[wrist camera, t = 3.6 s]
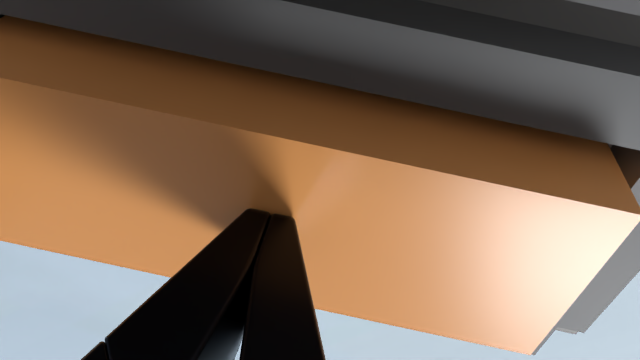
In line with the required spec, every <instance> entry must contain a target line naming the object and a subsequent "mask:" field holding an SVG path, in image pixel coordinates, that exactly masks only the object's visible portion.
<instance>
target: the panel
mask: <svg viewBox="0 0 640 360" xmlns="http://www.w3.org/2000/svg"><path fill="white" fill-rule="evenodd" d="M5 15H7V16H12V17H17V18H21V19H26V20H31V21H35V22H40V23H45V24H49V25H54V26H59V27H64V28H68V29H73V30H78V31H82V32H87V33H92V34H96V35H101V36H106V37H110V38H115V39H120V40H124V41H129V42H134V43H139V44H143V45H148V46H153V47H157V48H162V49H167V50H171V51H176V52H181V53H185V54H190V55H195V56H200V57H204V58H209V59H214V60H218V61H223V62H228V63H232V64H237V65H242V66H246V67H251V68H256V69H260V70H265V71H270V72H275V73H279V74H284V75H289V76H293V77H298V78H303V79H307V80H312V81H317V82H321V83H326V84H331V85H335V86H340V87H345V88H350V89H354V90H359V91H364V92H368V93H373V94H378V95H382V96H387V97H392V98H396V99H401V100H406V101H411V102H415V103H420V104H425V105H429V106H434V107H439V108H443V109H448V110H453V111H457V112H462V113H467V114H471V115H476V116H481V117H486V118H490V119H495V120H500V121H504V122H509V123H514V124H518V125H523V126H528V127H532V128H537V129H542V130H546V131H551V132H556V133H561V134H565V135H570V136H575V137H579V138H584V139H589V140H593V141H598V142H603V143H607V144H608V145H609V147H610V149H611V151H612V153H613V155H614V157H615V159H616V161H617V163H618V165H619V167H620V169H621V171H622V173H623V175H624V177H625V179H626V181H627V183H628V185H629V187H630V189H631V191H632V193H633V195H634V197H635V199H636V201H637V203H638V205H639V207H640V16H638V15H634V14H629V13H624V12H620V11H615V10H610V9H605V8H601V7H596V6H591V5H586V4H582V3H577V2H572V1H567V0H0V18H2V17H3V16H5ZM639 271H640V221H639V223H638V224H637V225H636V226H635V227H634V229H633V230H632V231H631V232H630V234H629V235H628V236H627V237H626V239H625V240H624V241H623V242H622V243H621V245H620V246H619V247H618V248H617V250H616V251H615V252H614V253H613V255H612V256H611V257H610V258H609V259H608V261H607V262H606V263H605V264H604V266H603V267H602V268H601V269H600V270H599V272H598V273H597V274H596V275H595V277H594V278H593V279H592V280H591V282H590V283H589V284H588V285H587V286H586V288H585V289H584V290H583V291H582V293H581V294H580V295H579V296H578V298H577V299H576V300H575V301H574V302H573V304H572V305H571V306H570V307H569V309H568V310H567V311H566V312H565V313H564V315H563V316H562V317H561V318H560V320H559V321H558V322H557V323H556V325H555V326H554V327H553V328H552V329H551V331H550V332H549V333H548V334H547V336H546V337H545V338H544V339H543V341H542V342H541V343H540V344H539V345H538V347H537V348H536V349H535V350H534V352H533V353H532V354H531V355H535V354H536V353H537V352H538V350H539V349H540V348H541V347H542V345H543V344H544V343H545V342H546V341H547V339H548V338H549V337H550V336H551V335H552V333H553V332H554V331H555V330H558V331H563V332H567V333H572V334H576V333H577V332H582V333H584V332H585V331H586V330H587V329H588V328H589V327H590V326H591V324H592V323H593V322H594V321H595V320H596V319H597V318H598V317H599V315H600V314H601V313H602V312H603V311H604V310H605V309H606V308H607V307H608V305H609V304H610V303H611V302H612V301H613V300H614V299H615V298H616V296H617V295H618V294H619V293H620V292H621V291H622V290H623V289H624V288H625V286H626V285H627V284H628V283H629V282H630V281H631V280H632V279H633V278H634V276H635V275H636V274H637V273H638V272H639Z"/></svg>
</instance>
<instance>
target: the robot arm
mask: <svg viewBox="0 0 640 360" xmlns="http://www.w3.org/2000/svg"><path fill="white" fill-rule="evenodd" d="M242 338H243V339H242ZM241 341H242V346H241V353H240V360H325V355H324V350H323V346H322V341H321V337H320V332H319V327H318V323H317V318H316V314H315V309H314V304H313V300H312V295H311V291H310V286H309V281H308V277H307V272H306V268H305V263H304V258H303V254H302V249H301V245H300V240H299V235H298V231H297V226H296V222H295V219H294V218H293V217H290V216H285V215H280V214H275V213H274V214H272V215H270V213H269V212H266V211H262V210H257V209H252V208H249V209H246V210H245V211H244V212H243V213H242V214H241V215H240V216H238V217H237V218H236V219H235V220H234V221H233V222H232V223H231V224H230V225H229V226H227V227H226V228H225V229H224V230H223V231H222V232H221V233H220V234H219V235H218V236H216V237H215V238H214V239H213V240H212V241H211V242H210V243H209V244H208V245H207V246H205V247H204V248H203V249H202V250H201V251H200V252H199V253H198V254H197V255H196V256H195V257H193V258H192V259H191V260H190V261H189V262H188V263H187V264H186V265H185V266H184V267H182V268H181V269H180V270H179V271H178V272H177V273H176V274H175V275H174V276H173V277H171V278H170V279H169V280H168V281H167V282H166V283H165V284H164V285H163V286H162V287H160V288H159V289H158V290H157V291H156V292H155V293H154V294H153V295H152V296H151V297H150V298H148V299H147V300H146V301H145V302H144V303H143V304H142V305H141V306H140V307H139V308H137V309H136V310H135V311H134V312H133V313H132V314H131V315H130V316H129V317H128V318H126V319H125V320H124V321H123V322H122V323H121V324H120V325H119V326H118V327H117V328H115V329H114V330H113V331H112V332H111V333H110V334H109V335H108V336H107V337H106V338H105V342H100V343H99V344H98V345H96V346H95V347H94V348H93V349H92V350H91V351H90V352H89V353H88V354H87V355H86V356H84V357H83V358H82V359H81V360H234V359H235V356H236V354H237V351H238V349H239V346H240V343H241Z"/></svg>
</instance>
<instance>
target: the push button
mask: <svg viewBox="0 0 640 360" xmlns="http://www.w3.org/2000/svg"><path fill="white" fill-rule="evenodd" d="M249 208H252V209H257V210H262V211H266V212H269V213H270V215H272V214H274V213H275V214H280V215H285V216H290V217H293V218H294V219H295V222H296V226H297V231H298V235H299V240H300V245H301V249H302V254H303V258H304V263H305V268H306V272H307V277H308V281H309V286H310V291H311V295H312V300H313V304H314V308H315V309H319V310H324V311H328V312H333V313H338V314H342V315H347V316H352V317H356V318H361V319H365V320H370V321H375V322H379V323H384V324H389V325H393V326H398V327H402V328H407V329H412V330H416V331H421V332H426V333H430V334H435V335H439V336H444V337H449V338H453V339H458V340H463V341H467V342H472V343H476V344H481V345H486V346H490V347H495V348H499V349H504V350H509V351H513V352H518V353H523V354H527V355H531V354H532V353H533V352H534V350H535V349H536V348H537V347H538V345H539V344H540V343H541V342H542V341H543V339H544V338H545V337H546V336H547V334H548V333H549V332H550V331H551V329H552V328H553V327H554V326H555V325H556V323H557V322H558V321H559V320H560V318H561V317H562V316H563V315H564V313H565V312H566V311H567V310H568V309H569V307H570V306H571V305H572V304H573V302H574V301H575V300H576V299H577V298H578V296H579V295H580V294H581V293H582V291H583V290H584V289H585V288H586V286H587V285H588V284H589V283H590V282H591V280H592V279H593V278H594V277H595V275H596V274H597V273H598V272H599V270H600V269H601V268H602V267H603V266H604V264H605V263H606V262H607V261H608V259H609V258H610V257H611V256H612V255H613V253H614V252H615V251H616V250H617V248H618V247H619V246H620V245H621V243H622V242H623V241H624V240H625V239H626V237H627V236H628V235H629V234H630V232H631V231H632V230H633V229H634V227H635V226H636V225H637V224H638V223H639V221H640V207H639V205H638V203H637V201H636V199H635V197H634V195H633V193H632V191H631V189H630V187H629V185H628V183H627V181H626V179H625V177H624V175H623V173H622V171H621V169H620V167H619V165H618V163H617V161H616V159H615V157H614V155H613V153H612V151H611V149H610V147H609V145H608V144H607V143H603V142H598V141H593V140H589V139H584V138H579V137H575V136H570V135H565V134H561V133H556V132H551V131H546V130H542V129H537V128H532V127H528V126H523V125H518V124H514V123H509V122H504V121H500V120H495V119H490V118H486V117H481V116H476V115H471V114H467V113H462V112H457V111H453V110H448V109H443V108H439V107H434V106H429V105H425V104H420V103H415V102H411V101H406V100H401V99H396V98H392V97H387V96H382V95H378V94H373V93H368V92H364V91H359V90H354V89H350V88H345V87H340V86H335V85H331V84H326V83H321V82H317V81H312V80H307V79H303V78H298V77H293V76H289V75H284V74H279V73H275V72H270V71H265V70H260V69H256V68H251V67H246V66H242V65H237V64H232V63H228V62H223V61H218V60H214V59H209V58H204V57H200V56H195V55H190V54H185V53H181V52H176V51H171V50H167V49H162V48H157V47H153V46H148V45H143V44H139V43H134V42H129V41H124V40H120V39H115V38H110V37H106V36H101V35H96V34H92V33H87V32H82V31H78V30H73V29H68V28H64V27H59V26H54V25H49V24H45V23H40V22H35V21H31V20H26V19H21V18H17V17H12V16H7V15H5V16H3V17H2V18H0V241H5V242H10V243H14V244H19V245H23V246H28V247H33V248H37V249H42V250H47V251H51V252H56V253H60V254H65V255H70V256H74V257H79V258H83V259H88V260H93V261H97V262H102V263H107V264H111V265H116V266H120V267H125V268H130V269H134V270H139V271H144V272H148V273H153V274H157V275H162V276H167V277H173V276H174V275H175V274H176V273H177V272H178V271H179V270H180V269H181V268H182V267H184V266H185V265H186V264H187V263H188V262H189V261H190V260H191V259H192V258H193V257H195V256H196V255H197V254H198V253H199V252H200V251H201V250H202V249H203V248H204V247H205V246H207V245H208V244H209V243H210V242H211V241H212V240H213V239H214V238H215V237H216V236H218V235H219V234H220V233H221V232H222V231H223V230H224V229H225V228H226V227H227V226H229V225H230V224H231V223H232V222H233V221H234V220H235V219H236V218H237V217H238V216H240V215H241V214H242V213H243V212H244V211H245V210H246V209H249Z"/></svg>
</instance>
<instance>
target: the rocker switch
mask: <svg viewBox="0 0 640 360" xmlns="http://www.w3.org/2000/svg"><path fill="white" fill-rule="evenodd" d="M567 1H572V2H577V3H582V4H586V5H591V6H596V7H601V8H605V9H610V10H615V11H620V12H624V13H629V14H634V15H638V16H640V0H567Z"/></svg>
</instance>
